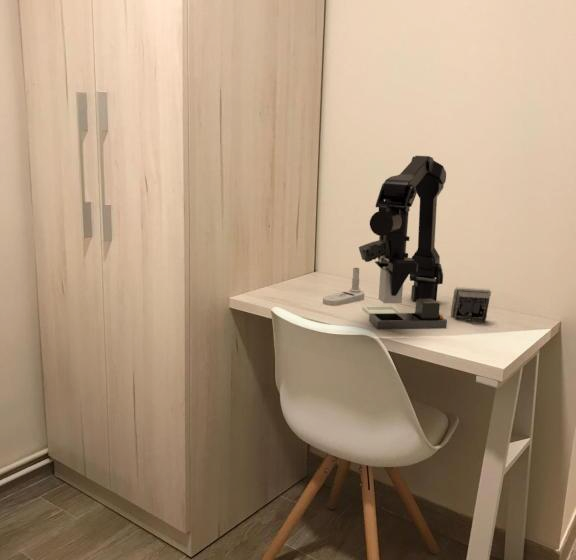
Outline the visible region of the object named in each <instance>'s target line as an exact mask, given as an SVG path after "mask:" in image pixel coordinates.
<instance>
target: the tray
mask: <svg viewBox="0 0 576 560" xmlns="http://www.w3.org/2000/svg"><path fill="white" fill-rule="evenodd" d="M361 310H362V311H364V312H365V314H366V315H368V316H369V314H370V313H403V312H402V311H401V310H400V309H398V308H397V307H396V306H394V305H370V306H369V305H368V306H365V305H364V306H363V305H362V308H361Z"/></svg>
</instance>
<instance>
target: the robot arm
mask: <svg viewBox="0 0 576 560" xmlns="http://www.w3.org/2000/svg"><path fill="white" fill-rule="evenodd" d="M446 181H447V171H446V169H445V167H444V165H443V164H441V163H439V162H437V161H435V160H434V158H433V157H431V156H430V155H414V156H412V158H411V161H410V163H409V164H408V165H406V167H405V168H404V169H403V170H402V171H401V172H400V173H399V174H397V175H393V176H390V177H388V178H386V179H385V181H384V182H383V183H382V184H381V188H380V190H379V193H378V196H377V199H376V203H375V208H378V211H377V212H375V213H373V214H372V216H371V217H370V220H369V227H370V230H371V231H372V233H373V234H375V235H376V236H378V237H379V239H377V240H375V241H372V242H368V243H366V244H363V245H360V246H359V247H358V251H359V253H360V254H359V255H360V257H361V259H362V260H363V261H364V262H366V263H369V262H372V261H373V260H374V264H376V265H377V266H378V268H379V269H381V268H383V267H388V268H385V270H386V271H387V272H388V273H389V274H390V282H391V294H392V296H396V295H397V293H398V292H399V290H400V288H401V286H402V285H403V286H404V283H405V281H406V279H407V278H408V277H409V281H410V282H413V285H411V291H410V292H411V293H410V294H411V295H410V299H411V300H413V301H414V302H415V303H416V299H433V300H435V301H437V298H438V290H439V289H438V288H439V287H438V286H439V285H443V283H444V272H443V267H442V265H441V263H440V262H441V259H440V255H439V253H438V251H437V249H436V248H435V243H436V227H437V226H436V224H437V222H436V221H437V219H436V218H437V204H438V203H437V202H438V196H439V195H440V194H441V193H442V191H443V189H444V187H445V186H444V185H445V183H446ZM416 196H418V197H419V209H418V210H419V212H418V213H419V215H418V216H419V217H418V234H417V235H418V238H417V239H418V240H417V249H416V251H415V252H414V254H413V255H412V256H411V257H409V253H408V252H407V242H410V238H411V237H410V236H409V235H408V225H409V213H410V210H411V207H412V206H413V203H414V201H415V199H416ZM375 260H377V261H375ZM437 302H438V303H439V304H440V302H439V301H437Z"/></svg>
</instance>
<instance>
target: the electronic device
mask: <svg viewBox="0 0 576 560" xmlns="http://www.w3.org/2000/svg"><path fill="white" fill-rule="evenodd" d="M359 285H360V268H359V267H353V268H352V281H351V288H350V289H349V290H346V291H341V292H337V293H333V294H328V295H325V296H323V298H322V304H324V305H325V306H329V307H330V306H332V307H338V306H342V305H347V304H348V305H349V304H352V303H357V302H361V301H364V300H365V292H364V291H362V290H361V288H360V286H359Z"/></svg>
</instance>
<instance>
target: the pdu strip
mask: <svg viewBox="0 0 576 560" xmlns="http://www.w3.org/2000/svg"><path fill="white" fill-rule="evenodd" d="M438 302H439V301H437V300H436V301H435V300H433V299H416V302H415V308H414V309H415V310H414V313H413V312H411V313H410V312H405V313H404V312H402V313H370V314H369V315H368V317H369V318H368V321H369V323H370V324H371V325H372V326H374V328H375V329H376V330H412V329H413V330H417V329H418V330H419V329H420V330H422V329H423V330H425V329H426V330H428V329H429V330H430V329H433V330H434V329H435V330H436V329H447V327H448V326H447V325H448V319H446V318H444V315H443V314H442V313H440V306H441V303H440V302H439V303H438Z"/></svg>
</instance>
